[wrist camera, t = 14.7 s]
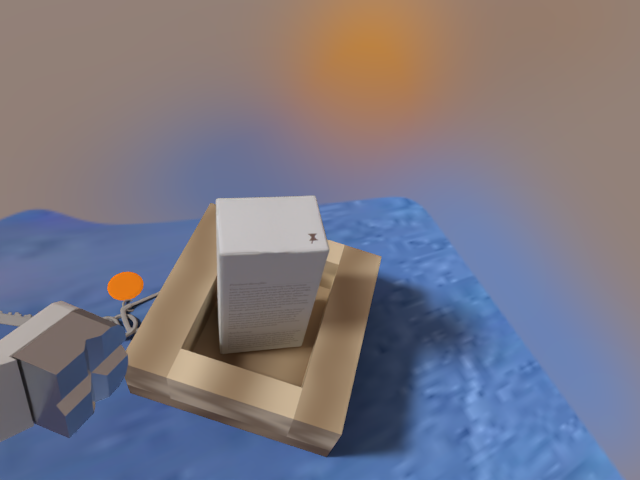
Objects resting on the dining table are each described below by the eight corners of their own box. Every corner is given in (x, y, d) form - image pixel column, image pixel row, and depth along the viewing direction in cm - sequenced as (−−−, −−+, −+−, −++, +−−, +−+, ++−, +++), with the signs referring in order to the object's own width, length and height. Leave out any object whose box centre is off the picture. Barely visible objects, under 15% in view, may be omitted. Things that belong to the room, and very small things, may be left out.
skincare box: (293, 298, 38) (319, 193, 29) (302, 348, 36) (333, 251, 26) (214, 303, 37) (214, 195, 27) (217, 356, 34) (218, 256, 25)
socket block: (366, 290, 41) (381, 256, 38) (326, 457, 33) (341, 434, 29) (210, 241, 42) (210, 203, 38) (130, 392, 33) (119, 362, 29)
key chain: (164, 259, 40) (163, 253, 40) (194, 332, 37) (194, 326, 36) (-12, 311, 35) (-16, 305, 35) (4, 402, 32) (0, 397, 31)
